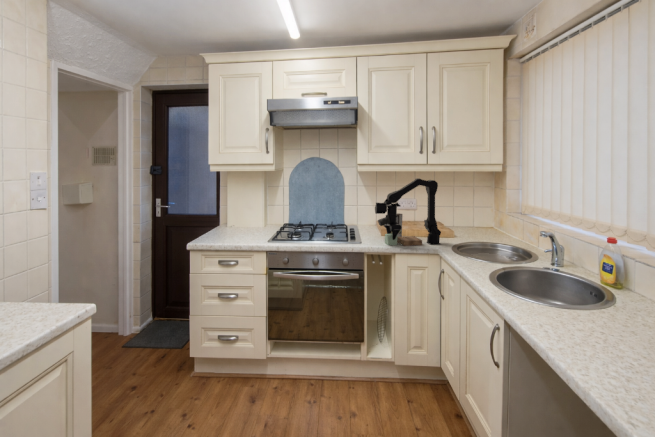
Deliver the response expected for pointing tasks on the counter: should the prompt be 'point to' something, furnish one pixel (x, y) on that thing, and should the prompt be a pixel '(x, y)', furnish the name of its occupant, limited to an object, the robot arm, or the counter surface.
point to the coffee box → (399, 221)
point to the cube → (390, 240)
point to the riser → (409, 241)
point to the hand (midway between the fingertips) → (391, 238)
